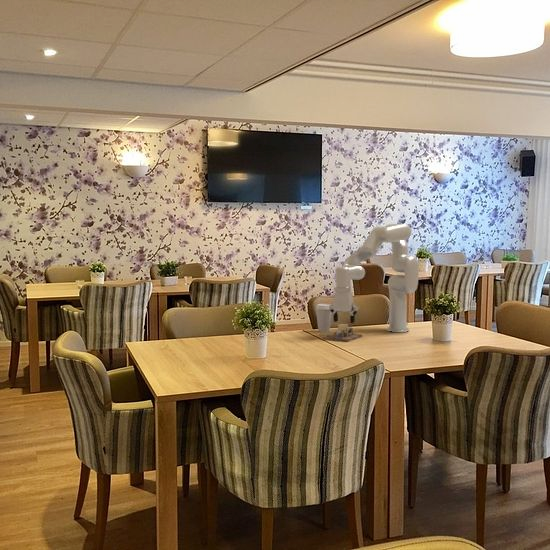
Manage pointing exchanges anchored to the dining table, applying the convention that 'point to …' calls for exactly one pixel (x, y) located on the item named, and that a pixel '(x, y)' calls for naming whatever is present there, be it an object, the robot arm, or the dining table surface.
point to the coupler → (343, 328)
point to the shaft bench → (339, 336)
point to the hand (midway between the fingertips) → (344, 322)
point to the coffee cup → (323, 317)
